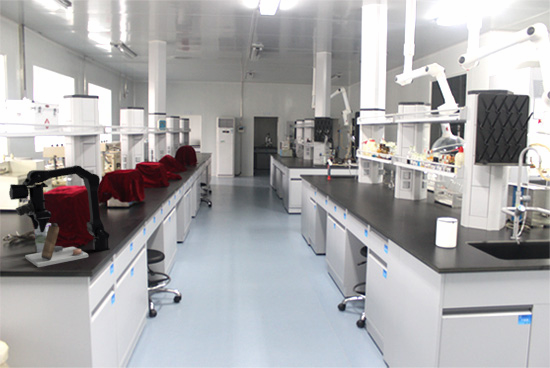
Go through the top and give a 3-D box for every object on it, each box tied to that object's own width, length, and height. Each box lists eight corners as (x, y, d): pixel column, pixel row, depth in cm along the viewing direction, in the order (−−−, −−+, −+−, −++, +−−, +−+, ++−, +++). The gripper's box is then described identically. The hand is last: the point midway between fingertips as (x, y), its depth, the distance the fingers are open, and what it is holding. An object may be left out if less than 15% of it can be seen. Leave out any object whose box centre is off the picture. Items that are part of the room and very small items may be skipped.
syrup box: (53, 250, 212) (51, 222, 210) (47, 253, 206) (45, 225, 204) (41, 250, 212) (39, 222, 210) (35, 253, 206) (33, 225, 204)
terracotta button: (79, 252, 201) (79, 248, 200) (82, 253, 198) (82, 249, 198) (71, 253, 198) (71, 249, 198) (74, 255, 196) (74, 251, 195)
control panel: (73, 249, 213) (73, 245, 213) (88, 257, 199) (88, 252, 199) (25, 258, 198) (25, 254, 197) (37, 267, 184) (37, 262, 183)
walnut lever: (45, 258, 193) (54, 222, 196) (51, 260, 189) (61, 224, 192) (39, 257, 191) (49, 221, 193) (46, 260, 187) (55, 223, 190)
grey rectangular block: (59, 249, 207) (59, 246, 207) (62, 250, 205) (63, 247, 205) (50, 249, 203) (50, 246, 203) (53, 250, 201) (53, 247, 201)
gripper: (11, 197, 190) (13, 230, 192) (22, 201, 177) (24, 236, 179) (38, 195, 198) (40, 226, 200) (50, 198, 185) (52, 232, 186)
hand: (38, 230), depth 191 cm, fingers open, 9 cm apart
